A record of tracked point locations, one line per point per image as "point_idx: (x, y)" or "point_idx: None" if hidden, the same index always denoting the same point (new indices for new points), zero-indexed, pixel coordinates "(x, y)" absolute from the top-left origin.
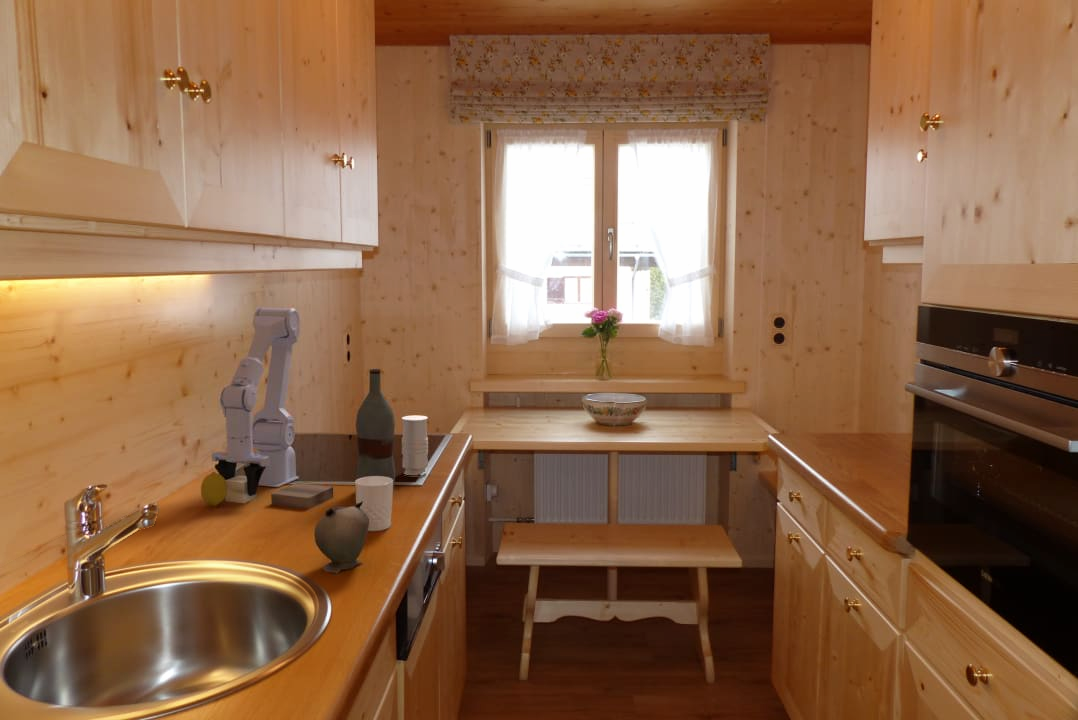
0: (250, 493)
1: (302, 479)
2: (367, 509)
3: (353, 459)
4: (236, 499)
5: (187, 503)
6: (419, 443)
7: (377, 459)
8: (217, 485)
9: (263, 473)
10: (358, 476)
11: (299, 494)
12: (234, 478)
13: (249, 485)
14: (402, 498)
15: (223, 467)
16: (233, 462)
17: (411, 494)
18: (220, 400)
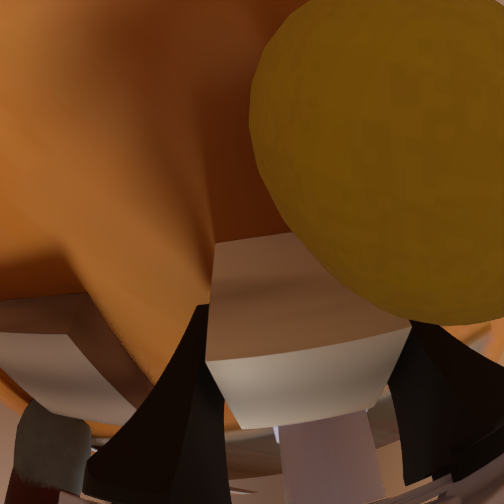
0: (194, 315)
1: (267, 438)
2: None
3: (275, 473)
4: (272, 247)
5: None
6: (105, 501)
7: (13, 466)
8: (296, 35)
9: (334, 435)
10: (45, 441)
11: (9, 352)
12: (365, 380)
13: (183, 358)
14: (4, 393)
15: (469, 427)
16: (399, 496)
17: (21, 407)
18: None
